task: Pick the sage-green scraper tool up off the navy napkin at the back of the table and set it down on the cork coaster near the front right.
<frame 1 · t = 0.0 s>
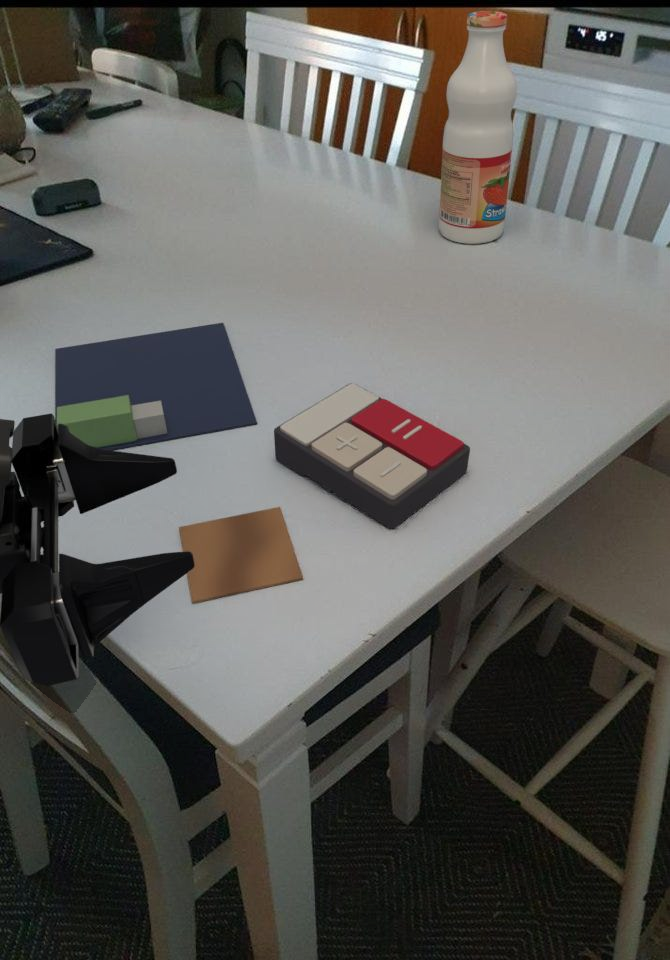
hand: (184, 509, 51), 14 cm above the table, tool horizontal, fingers open, 9 cm apart
coaster: (238, 553, 68), on the table
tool: (116, 435, 81), resting on napkin
fruit juice: (470, 233, 118), on the table
napkin: (149, 384, 89), on the table
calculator: (370, 467, 77), on the table
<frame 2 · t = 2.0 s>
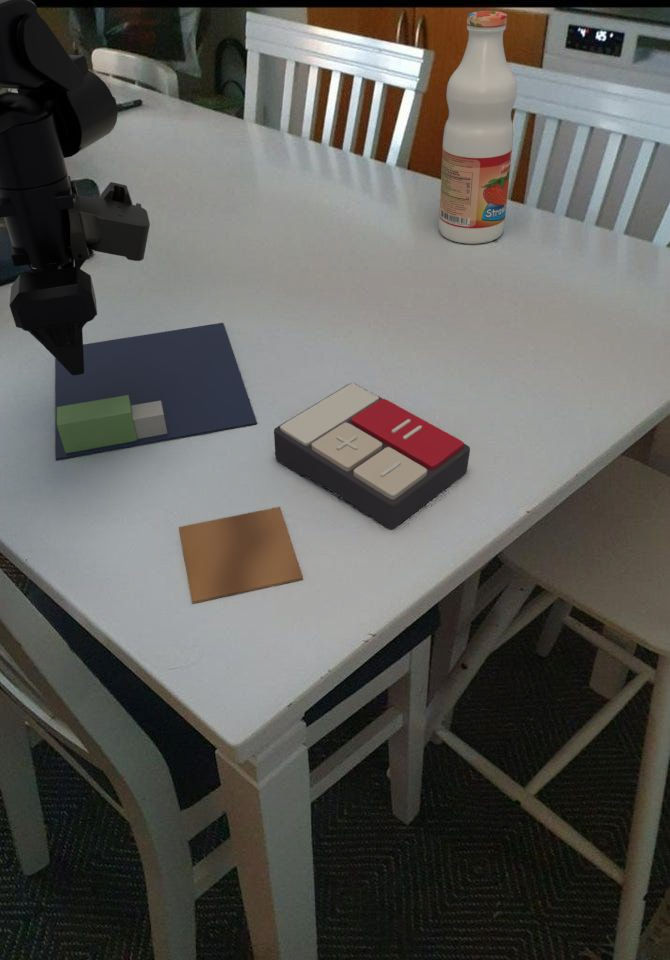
hand: (77, 348, 74), 11 cm above the table, tool pointing down, fingers open, 9 cm apart
nothing on the table moved.
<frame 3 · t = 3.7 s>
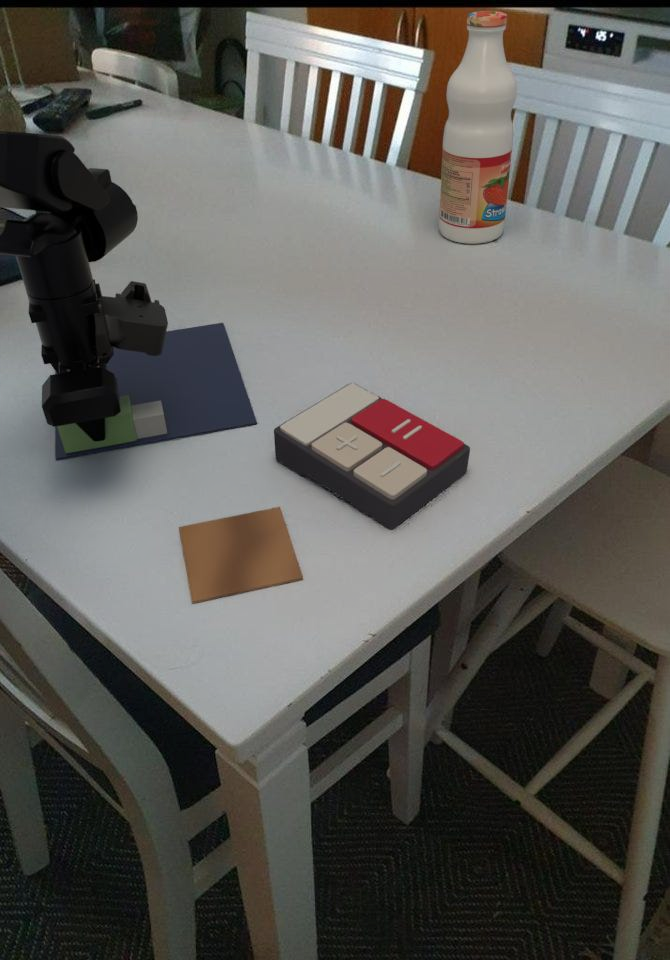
hand: (99, 430, 80), 1 cm above the table, tool pointing down, fingers closed on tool, 3 cm apart
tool: (116, 435, 81), resting on napkin, touching gripper
everything else where it was.
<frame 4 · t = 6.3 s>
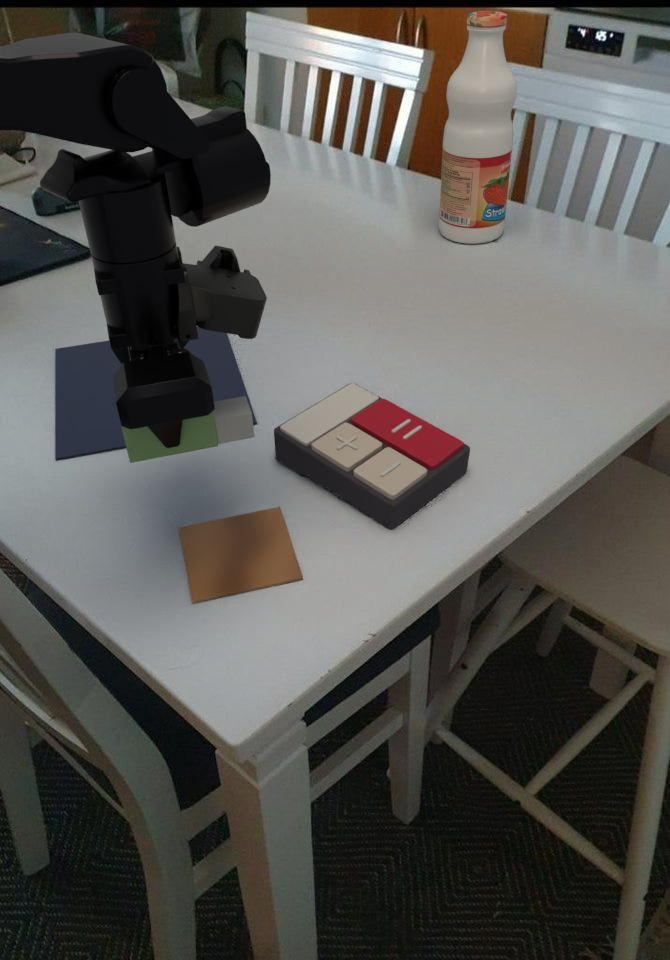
hand: (170, 433, 64), 10 cm above the table, tool pointing down, fingers closed on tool, 3 cm apart
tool: (190, 440, 65), point 9 cm above the table, touching gripper
everything else where it was.
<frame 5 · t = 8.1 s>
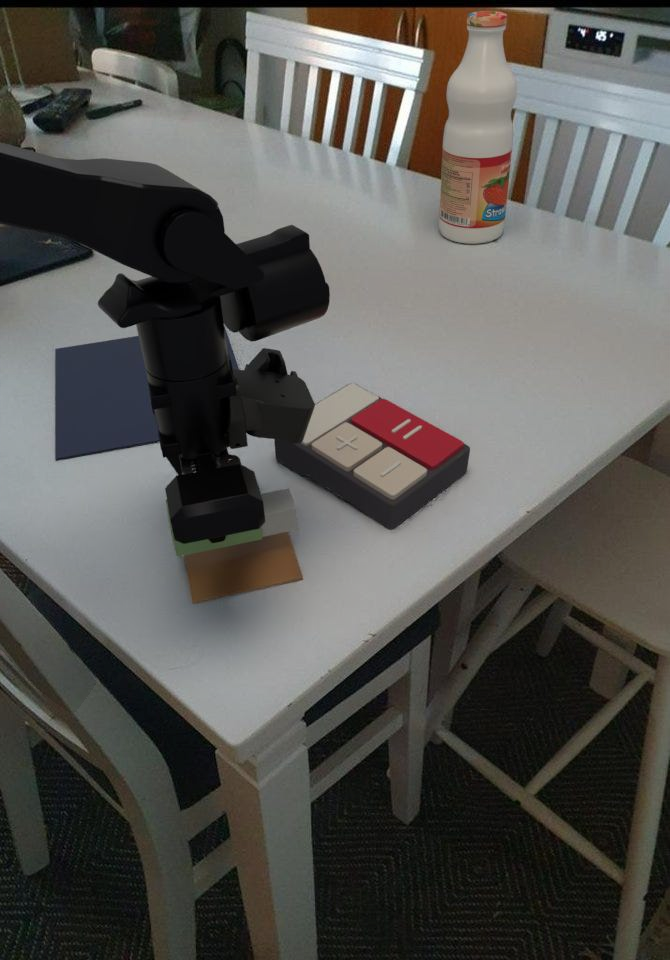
hand: (215, 526, 66), 4 cm above the table, tool pointing down, fingers closed on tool, 3 cm apart
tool: (235, 531, 66), point 3 cm above the table, touching gripper
everything else where it was.
when the fingers open (1 cm above the table, at t = 9.1 s): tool stays where it is, resting on coaster.
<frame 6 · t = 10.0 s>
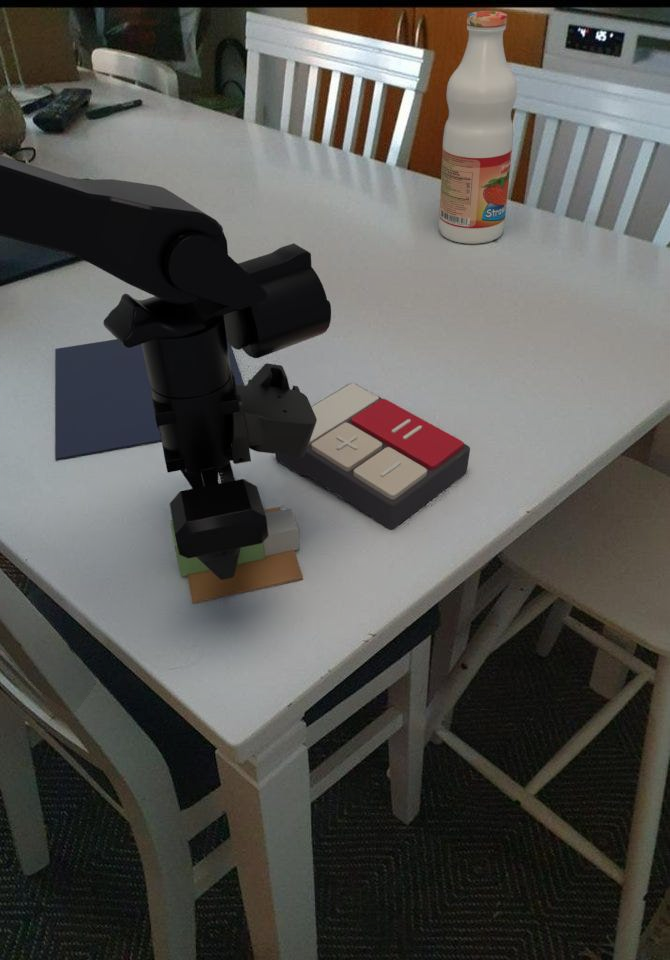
hand: (218, 538, 66), 2 cm above the table, tool pointing down, fingers open, 9 cm apart
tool: (238, 550, 68), resting on coaster
everything else where it was.
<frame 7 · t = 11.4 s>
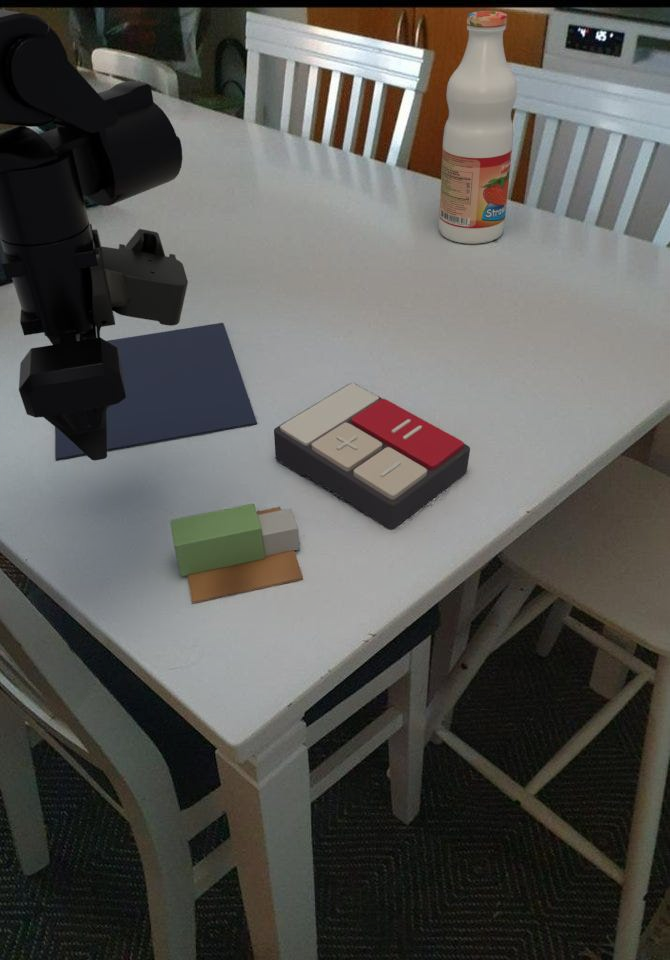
hand: (97, 423, 63), 12 cm above the table, tool pointing down, fingers open, 9 cm apart
nothing on the table moved.
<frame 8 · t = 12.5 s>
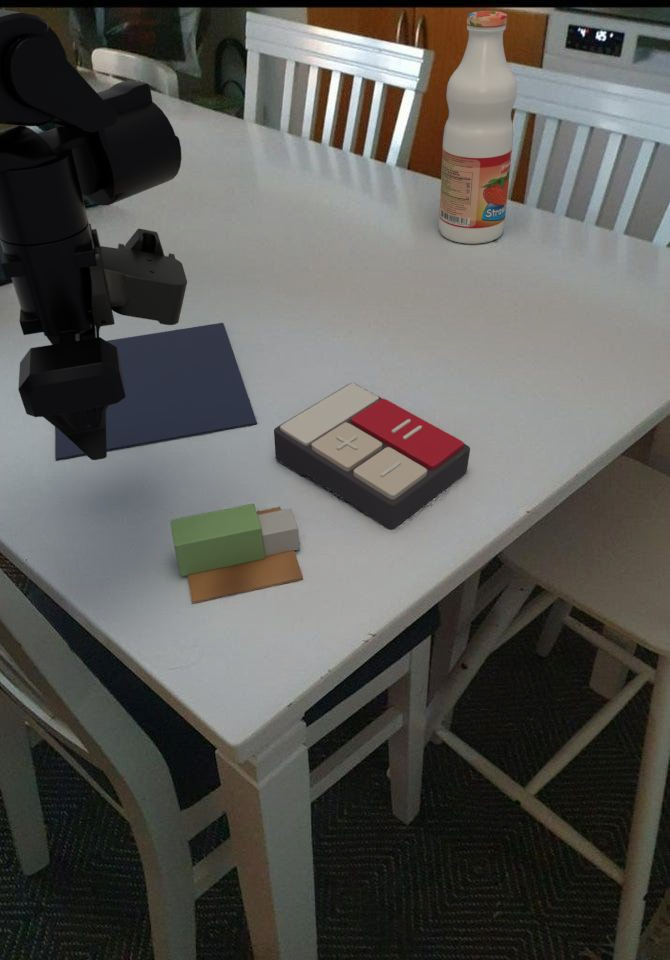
hand: (96, 423, 63), 12 cm above the table, tool pointing down, fingers open, 9 cm apart
nothing on the table moved.
at the end: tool inside the target area on the coaster (0.0 cm from its centre), point 0.3 cm above the coaster's base; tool touching coaster; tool tilted 0° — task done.
